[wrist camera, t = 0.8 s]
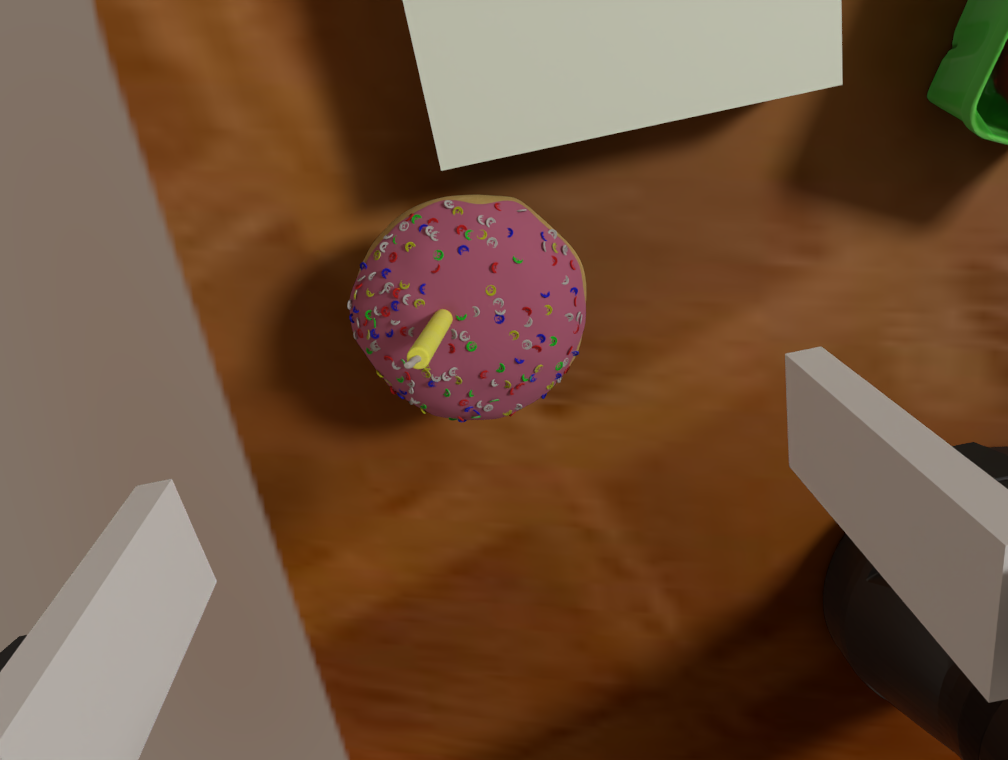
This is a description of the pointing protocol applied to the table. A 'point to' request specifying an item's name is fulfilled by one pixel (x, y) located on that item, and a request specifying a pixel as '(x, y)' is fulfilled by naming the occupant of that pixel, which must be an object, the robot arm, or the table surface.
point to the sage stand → (607, 65)
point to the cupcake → (470, 306)
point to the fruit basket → (977, 71)
